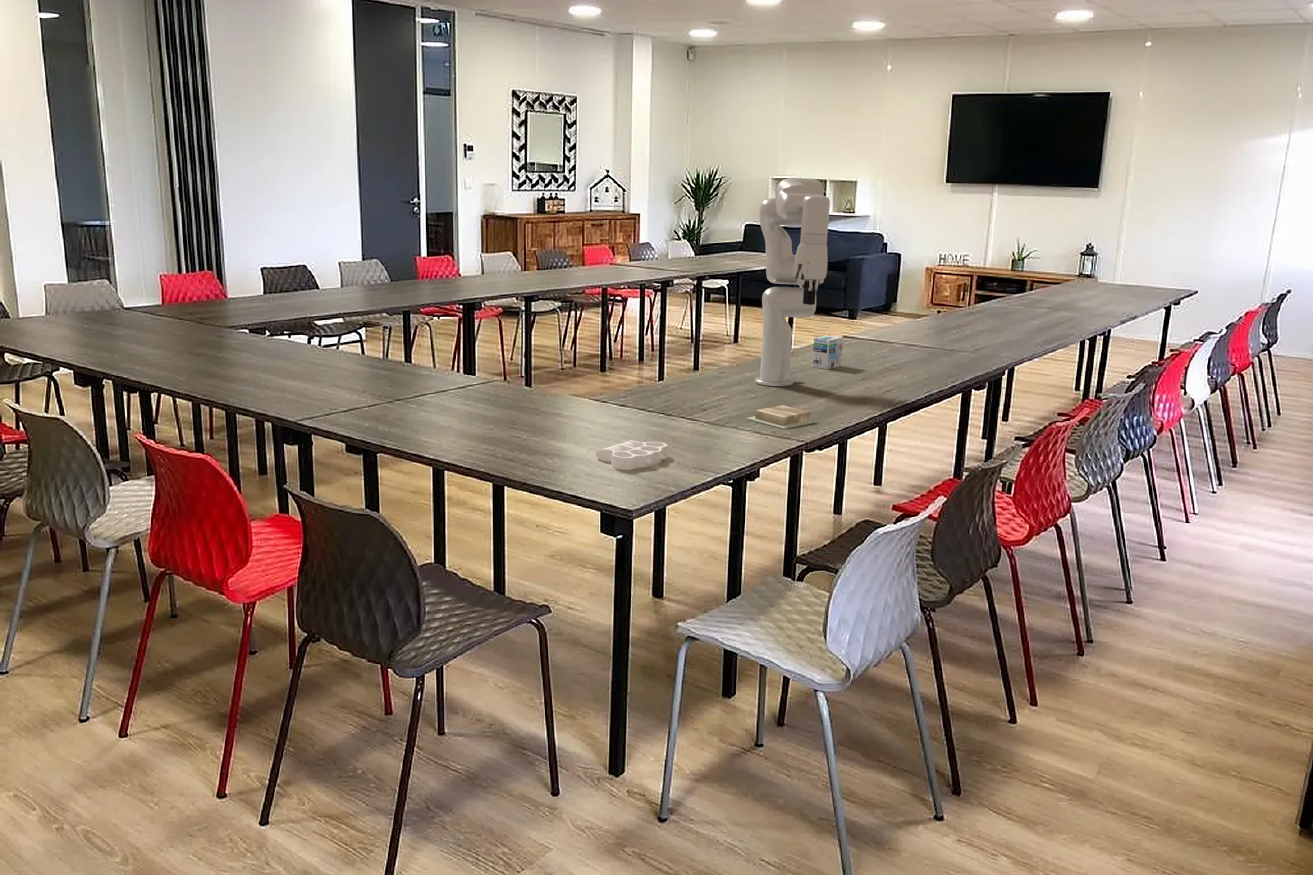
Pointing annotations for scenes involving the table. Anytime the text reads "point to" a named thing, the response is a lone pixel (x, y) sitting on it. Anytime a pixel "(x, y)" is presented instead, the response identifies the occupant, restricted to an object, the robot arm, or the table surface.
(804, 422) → the mat
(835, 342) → the light bulb box
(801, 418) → the birch tile
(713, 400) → the table surface
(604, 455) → the white muffin tray
